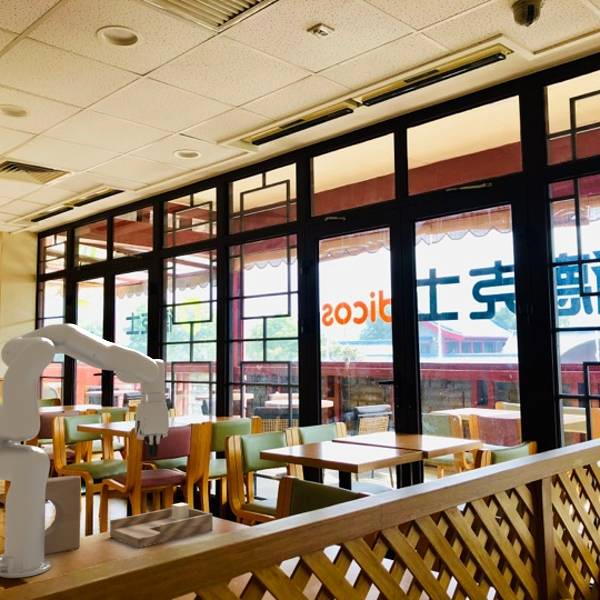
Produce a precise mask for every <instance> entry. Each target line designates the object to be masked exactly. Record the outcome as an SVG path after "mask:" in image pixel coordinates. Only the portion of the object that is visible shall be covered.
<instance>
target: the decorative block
mask: <svg viewBox="0 0 600 600" xmlns="http://www.w3.org/2000/svg"><path fill="white" fill-rule="evenodd" d="M81 483H82V482H81V477H80V476H77V475H73V474H72V475H65V476H57V477H48V479H47V484H46V495H45V501H49V502H51V504H52V505H53V506H54V508H55V509H54V510H55V516H54V520H53V521H52V523H51V524H50V525H49V526H48V527H46V528H45V547H44V556H46V555H52V554H56V553H63V552H67V550H68V551H71V550H72V549H73V550H76V549H79V548H80V547H81V546H80V544H81V543H80V542H81V486H82V485H81ZM73 550H72V551H73Z"/></svg>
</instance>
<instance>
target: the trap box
mask: <svg viewBox="0 0 600 600" xmlns="http://www.w3.org/2000/svg"><path fill="white" fill-rule="evenodd" d="M109 521H110V522H109V537H110V536H111V537H113V538H112V539H114V538H116V539H115V540H117V539H118V540H117V541H119V540H121V541H120V542H122V541H124V542H123V543H125V542H126V543H125V544H127V543H129V544H128V545H130V544H131V545H130V546H133V545H135V546H134V547H136V546H139V547H141V546H145V545H149V544H154V543H158V544H161V543H160V542H162V543H165V541H166V542H170V541H173V539H174V540H178V539H182V538H186V537H189V535H191V536H193V535H194V534H195V535H198V534H202V533H206V532H211V531H213V530H214V529H213V523H214V522H213V513H212V512H207V511H203V510H199V509H195V508H192V507H189V517H187V518H182V519H176V518H173V517H172V507H170V508H164V509H158V510H155V511H149V512H144V513H140V514H135V515H131V516H125V517H120V518H115V519H110V520H109ZM185 536H186V537H185ZM111 537H110V538H111ZM177 538H178V539H177ZM169 540H170V541H169ZM154 545H155V544H154ZM149 546H150V545H149ZM145 547H146V546H145ZM141 548H142V547H141Z"/></svg>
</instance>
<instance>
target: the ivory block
mask: <svg viewBox="0 0 600 600" xmlns="http://www.w3.org/2000/svg"><path fill="white" fill-rule="evenodd" d="M171 508H172V517H173V518H176V519H182V518H187V517H189V508H190V504H189V503H186V502H179V503H174V504H171Z"/></svg>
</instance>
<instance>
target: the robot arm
mask: <svg viewBox="0 0 600 600" xmlns="http://www.w3.org/2000/svg"><path fill="white" fill-rule="evenodd" d="M56 354H59V355H60V354H63V355H67V356H69V357H71V358H73V359H75V360H78V361H79V362H81V363H83V364H85V365H87V366H90V367H92V368H95V369H99V370H105V371H112V372H113V371H114V372H115V376H116V378H117V380H119V381H120V382H122V383H124V384H140V402H139V403H137V408H136V412H135V419H134V421H135V422H134V434H135V435H136V440H141V441H143V442H144V443H145V444H146V455H147V457H148V458H157V457H158V453H159V444H160V443H161V440H162V439H163V438H166V437H168V435H169V433H168V431H169V428H170V425H169V424H170V423H169V421H170V417H169V410H168V409H169V408H168V406H167V404H168V403H167V402H166V401H165V400H166V399H167V398H168V397H169V396H168V394H167V393H166V391H165V390H166V387H165V386H166V383H165V382H166V381H165V380H166V377H165V375H166V371H165V370H166V364H165V361H164V360H163V359H153V358H151V357H150V356H147V355H146V354H144V353H142V352H140V351H138V350H135V349H132V348H128V347H126V346H122V345H120V344H117V343H114V342H110V341H107V340H105V339H104V338H101V337H99V336H97V335H96V334H93V333H92V332H90V331H88V330H86V329H84V328H82V327H80V326H78V325H76V324H73V323H55V324H49V325H46V326H42V327H40V328H38V329H34V330H32V331H30V332H27V333H25V334H21V335H19V336H16V337H14V338H12V339H11V338H10V339H9V340H8V341H7V342H6V343H5V344H4V345H3V346H2V348H1V352H0V357H1V360H2V362H3V363H4V364H5V366H6V367H8V368H7V369H6V370H5V373H4V375H3V377H2V378H3V379H2V383H1V400H2V401H1V404H0V480H2V481H7V482H8V481H9V482H10V486H9V488H8V491H7V494H6V498H5V499H6V500H5V510H4V511H5V521H4V523H5V524H4V527H5V528H4V553H1V554H0V577H2V578H7V579H15V578H16V579H19V578H27V577H31V576H32V577H33V576H36V575H40V574H42V573H45V572H46V571H48V570H49V569H50V568H51V561H50V560H48V559H46V558H45V555H44V547H45V530H46V500H45V495H46V484H47V479H48V478H49V473H50V467H51V461H50V458H49V455H48V453H47V452H46V451H45V450H44V449H43V448H41V447H39V446H36V445H35V446H34V445H31V444H30V445H27V444H21V442H27V441H31V440H33V439H34V438H36V436H38V434H39V433H40V429H41V417H40V416H41V415H40V409H39V408H40V406H39V399H38V383H39V380H40V377H41V375H42V373H43V372H44V371H45V369H46V368H47V367H48V366H50V364H51V363H52V362H53V361H54V358H55V356H56Z"/></svg>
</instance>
